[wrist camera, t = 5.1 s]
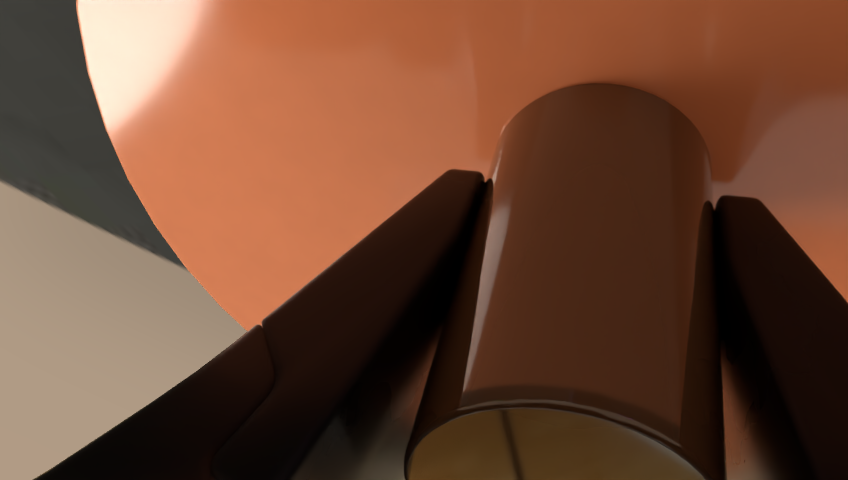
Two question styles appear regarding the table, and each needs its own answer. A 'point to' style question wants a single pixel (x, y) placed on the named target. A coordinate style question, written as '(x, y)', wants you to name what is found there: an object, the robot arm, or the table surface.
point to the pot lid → (497, 190)
